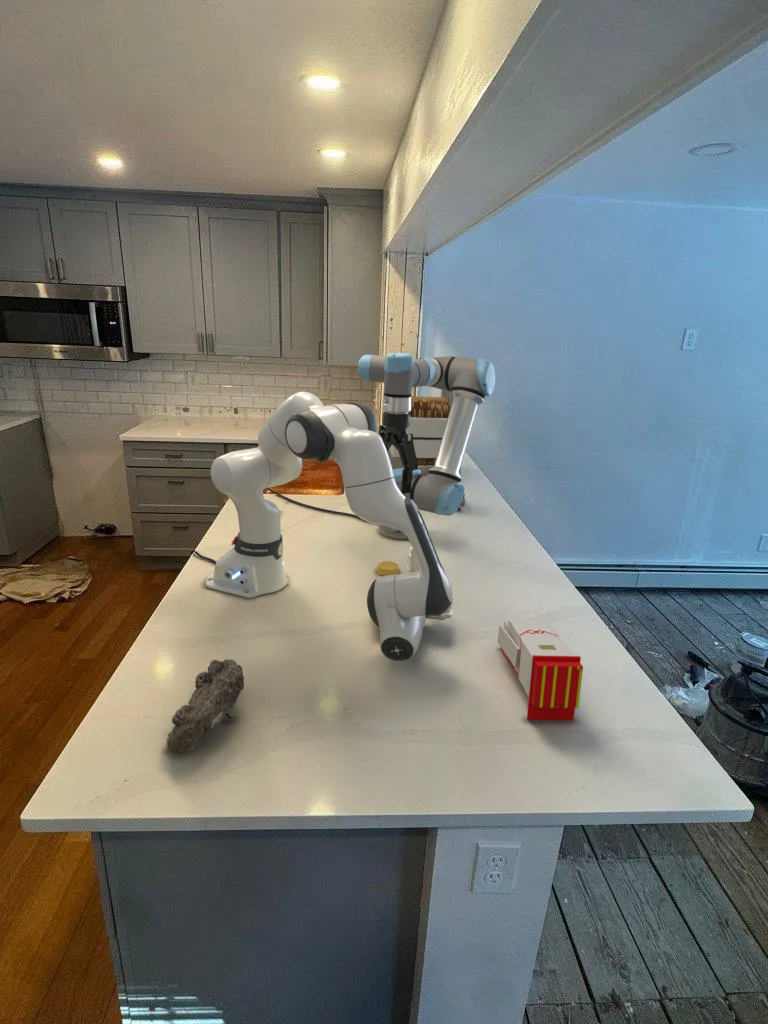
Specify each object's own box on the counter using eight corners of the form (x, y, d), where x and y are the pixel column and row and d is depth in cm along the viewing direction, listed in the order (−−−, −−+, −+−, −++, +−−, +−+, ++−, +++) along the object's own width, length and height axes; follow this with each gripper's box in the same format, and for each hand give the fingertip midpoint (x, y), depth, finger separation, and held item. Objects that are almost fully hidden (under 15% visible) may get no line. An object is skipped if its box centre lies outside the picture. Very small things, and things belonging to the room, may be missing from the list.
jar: (416, 596, 157) (419, 541, 152) (429, 604, 153) (434, 548, 148) (400, 601, 154) (404, 546, 148) (414, 610, 150) (418, 553, 144)
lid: (381, 577, 167) (381, 570, 166) (374, 568, 173) (375, 561, 172) (401, 575, 169) (401, 568, 168) (394, 566, 174) (394, 559, 174)
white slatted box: (382, 463, 289) (386, 382, 275) (445, 464, 293) (451, 384, 279) (390, 482, 257) (394, 392, 243) (460, 483, 261) (468, 394, 247)
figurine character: (465, 515, 224) (460, 499, 237) (467, 498, 221) (462, 483, 234) (448, 515, 224) (444, 499, 237) (450, 498, 220) (445, 482, 234)
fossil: (192, 660, 117) (244, 628, 112) (224, 691, 120) (276, 661, 115) (142, 746, 98) (202, 712, 93) (182, 779, 101) (242, 748, 96)
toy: (543, 604, 136) (592, 662, 106) (538, 656, 138) (584, 727, 109) (493, 603, 135) (528, 661, 106) (489, 655, 138) (522, 726, 109)
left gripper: (452, 607, 132) (456, 581, 145) (366, 596, 136) (378, 572, 148) (450, 631, 134) (454, 603, 147) (366, 619, 138) (377, 593, 151)
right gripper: (362, 405, 163) (360, 476, 170) (410, 421, 143) (405, 500, 150) (384, 403, 166) (381, 473, 174) (434, 419, 146) (429, 497, 154)
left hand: (415, 587), depth 148 cm, fingers open, 8 cm apart
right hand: (393, 486), depth 162 cm, fingers open, 13 cm apart
